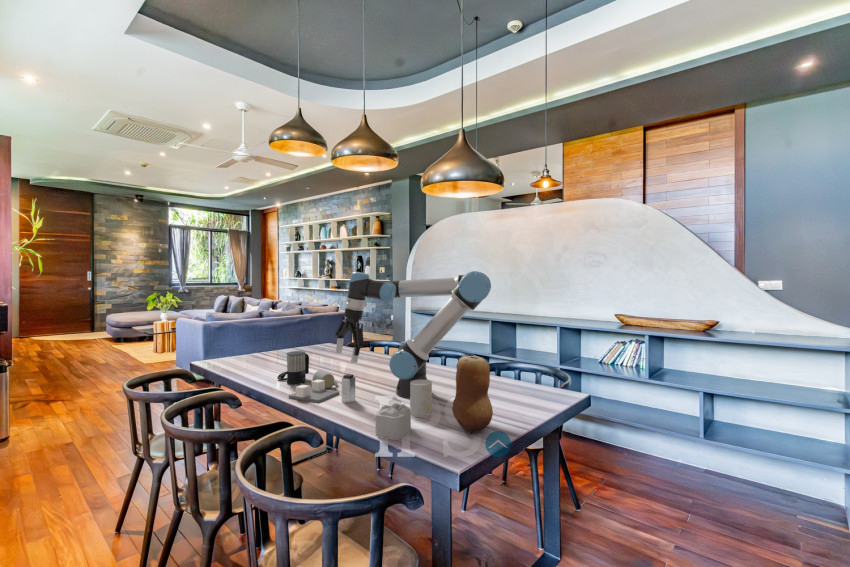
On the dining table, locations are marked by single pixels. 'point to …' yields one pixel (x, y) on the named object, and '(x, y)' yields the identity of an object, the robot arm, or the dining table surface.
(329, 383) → the ceramic mug
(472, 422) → the butternut squash
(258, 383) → the dining table surface
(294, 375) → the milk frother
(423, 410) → the cup
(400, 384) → the robot arm
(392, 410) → the lumpy-topped squat cylinder
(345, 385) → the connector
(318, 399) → the board
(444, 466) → the dining table surface
